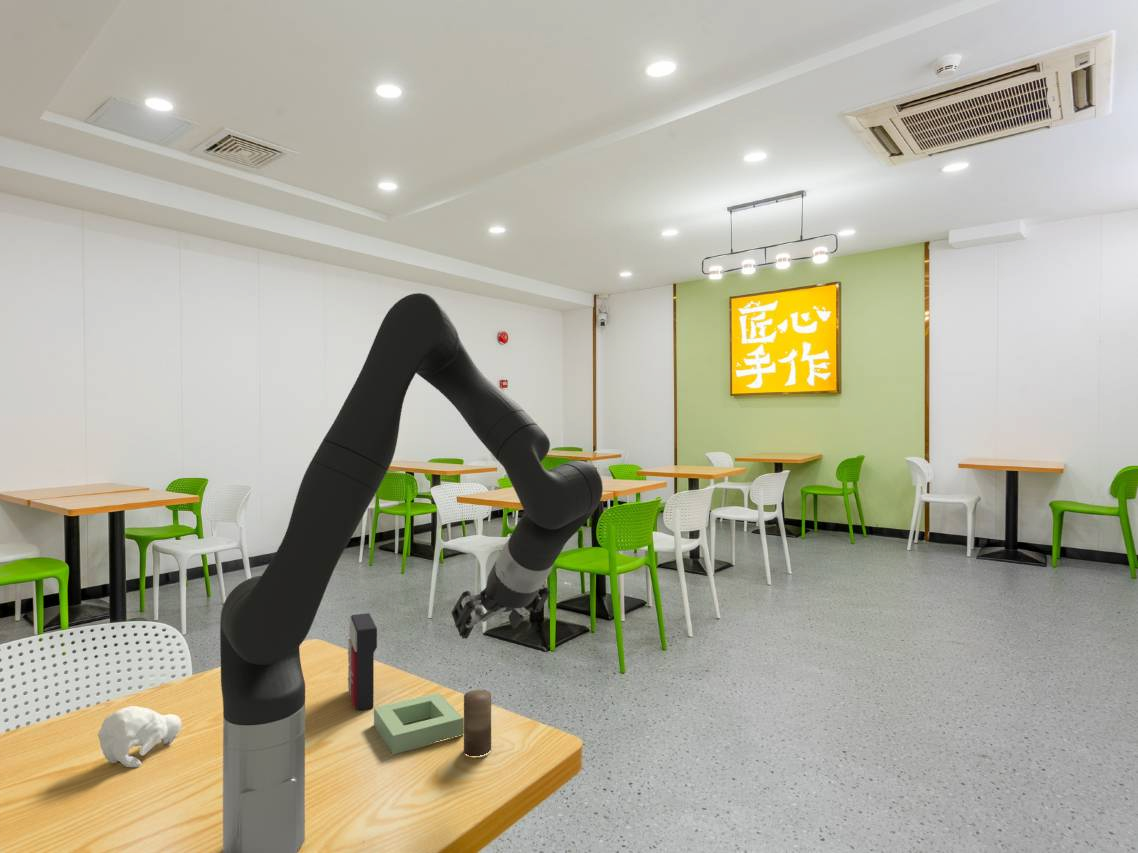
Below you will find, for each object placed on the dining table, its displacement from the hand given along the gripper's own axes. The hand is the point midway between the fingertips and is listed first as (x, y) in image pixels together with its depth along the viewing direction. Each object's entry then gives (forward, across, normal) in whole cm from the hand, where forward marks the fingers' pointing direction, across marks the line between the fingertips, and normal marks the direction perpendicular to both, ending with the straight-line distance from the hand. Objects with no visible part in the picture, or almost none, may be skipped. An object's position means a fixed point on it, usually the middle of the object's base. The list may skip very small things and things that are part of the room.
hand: (487, 627), depth 99 cm
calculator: (+39, +11, -9) cm, 42 cm away
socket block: (+26, +6, +4) cm, 27 cm away
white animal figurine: (+37, +46, -8) cm, 59 cm away
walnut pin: (+18, 0, +12) cm, 21 cm away
